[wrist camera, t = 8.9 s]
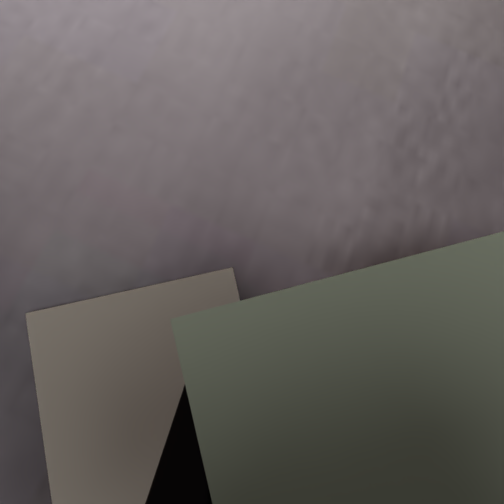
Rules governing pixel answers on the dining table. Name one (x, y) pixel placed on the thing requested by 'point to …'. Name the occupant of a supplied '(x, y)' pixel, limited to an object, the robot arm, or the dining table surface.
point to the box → (356, 385)
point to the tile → (113, 384)
